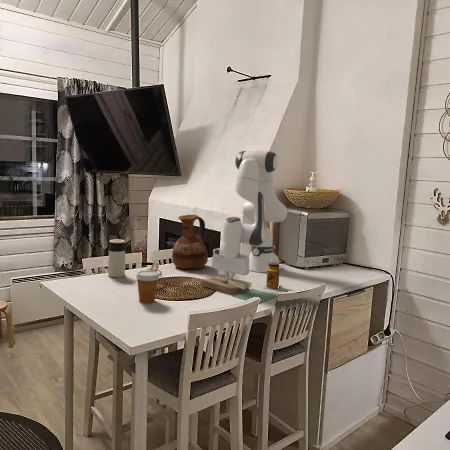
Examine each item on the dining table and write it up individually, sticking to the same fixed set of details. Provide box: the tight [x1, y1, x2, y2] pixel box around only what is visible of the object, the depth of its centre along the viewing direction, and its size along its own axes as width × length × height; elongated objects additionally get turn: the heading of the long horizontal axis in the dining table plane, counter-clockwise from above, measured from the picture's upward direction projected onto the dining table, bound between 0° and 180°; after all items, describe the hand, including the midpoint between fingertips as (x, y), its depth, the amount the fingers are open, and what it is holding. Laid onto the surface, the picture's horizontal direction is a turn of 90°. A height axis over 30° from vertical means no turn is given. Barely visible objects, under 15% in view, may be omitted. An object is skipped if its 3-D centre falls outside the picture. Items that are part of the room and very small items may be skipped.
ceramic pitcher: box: [171, 214, 209, 270], centre depth 236 cm, size 20×20×30 cm
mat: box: [232, 288, 277, 304], centre depth 191 cm, size 16×14×1 cm
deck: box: [200, 275, 250, 296], centre depth 201 cm, size 14×18×3 cm
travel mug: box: [107, 238, 126, 278], centre depth 211 cm, size 8×8×18 cm
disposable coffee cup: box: [135, 270, 160, 304], centre depth 175 cm, size 10×10×12 cm
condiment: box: [263, 263, 283, 291], centre depth 206 cm, size 7×8×12 cm
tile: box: [228, 278, 253, 289], centre depth 196 cm, size 6×9×2 cm, turn 51°
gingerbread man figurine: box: [146, 262, 165, 288], centre depth 193 cm, size 9×4×12 cm, turn 138°
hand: (229, 280), depth 199 cm, fingers closed
